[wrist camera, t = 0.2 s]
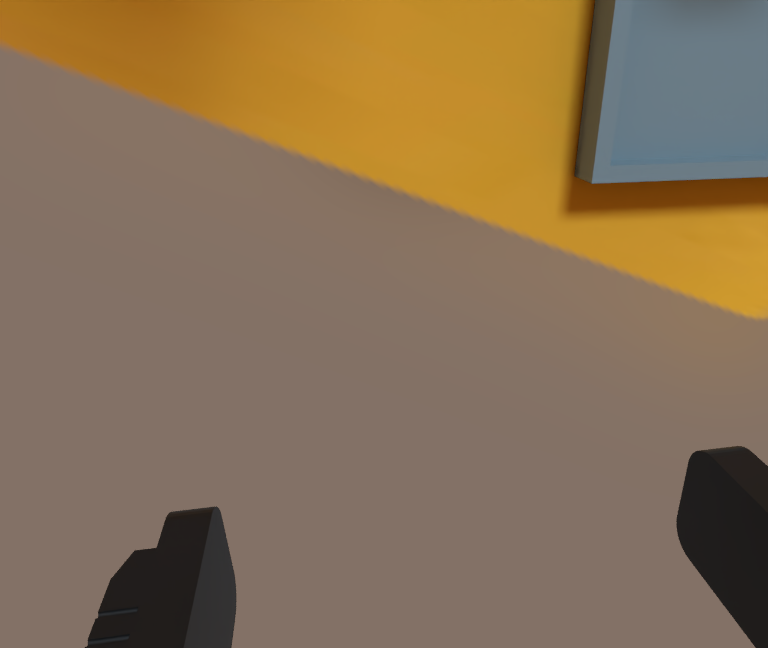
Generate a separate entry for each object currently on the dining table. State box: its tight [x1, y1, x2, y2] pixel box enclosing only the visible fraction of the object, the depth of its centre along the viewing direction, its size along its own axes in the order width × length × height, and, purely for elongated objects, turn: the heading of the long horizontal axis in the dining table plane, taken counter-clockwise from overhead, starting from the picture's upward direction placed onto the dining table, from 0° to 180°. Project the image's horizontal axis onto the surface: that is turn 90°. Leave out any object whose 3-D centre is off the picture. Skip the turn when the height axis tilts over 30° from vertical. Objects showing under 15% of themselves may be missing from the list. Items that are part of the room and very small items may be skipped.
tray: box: [575, 0, 768, 184], centre depth 34 cm, size 13×16×2 cm
